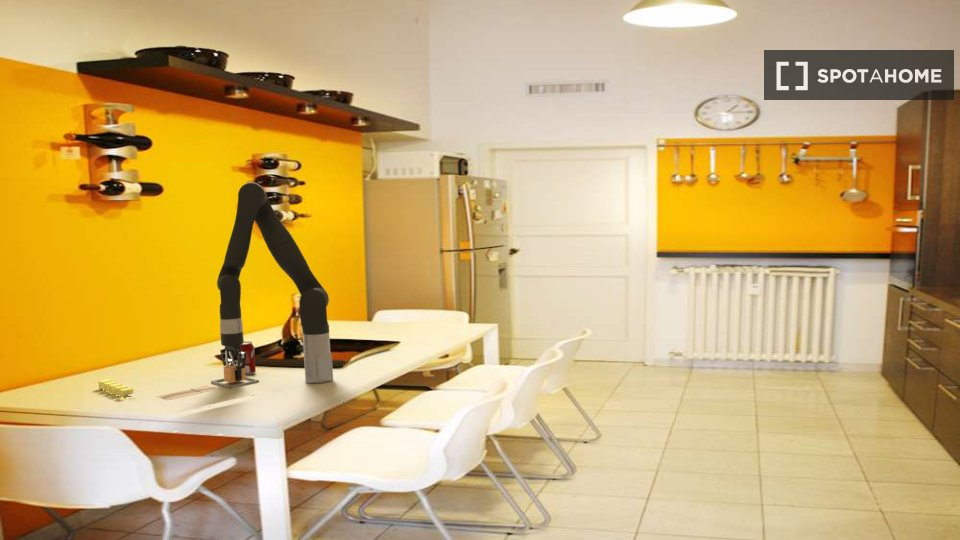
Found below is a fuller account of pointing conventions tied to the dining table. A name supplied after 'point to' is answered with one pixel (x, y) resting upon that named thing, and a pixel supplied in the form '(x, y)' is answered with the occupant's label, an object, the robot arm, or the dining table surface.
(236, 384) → the tray
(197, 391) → the wooden board
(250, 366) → the soda can
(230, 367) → the block
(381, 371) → the dining table surface
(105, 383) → the yellow flower cubes
